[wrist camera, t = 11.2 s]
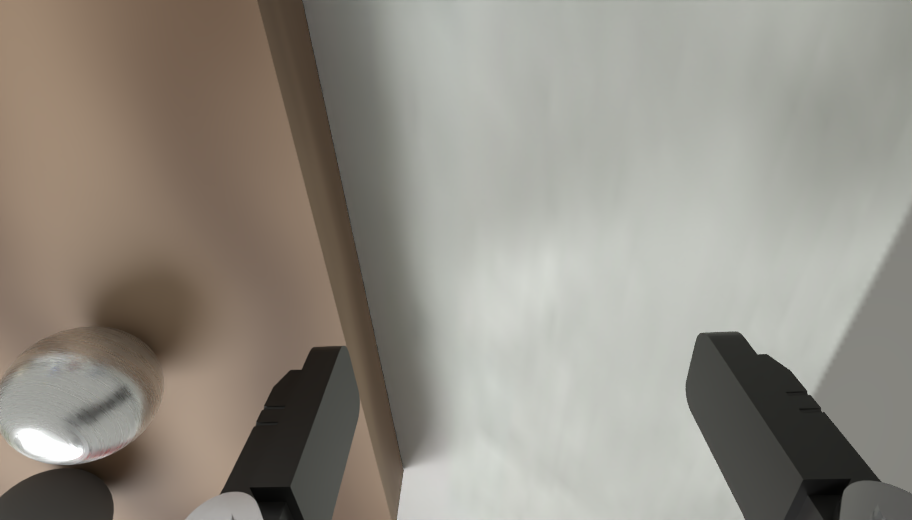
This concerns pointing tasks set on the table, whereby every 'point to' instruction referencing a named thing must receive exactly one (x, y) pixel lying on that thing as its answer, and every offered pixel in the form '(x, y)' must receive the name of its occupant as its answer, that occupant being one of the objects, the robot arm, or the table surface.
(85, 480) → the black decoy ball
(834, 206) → the table surface
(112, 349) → the steel ball
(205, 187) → the deck
